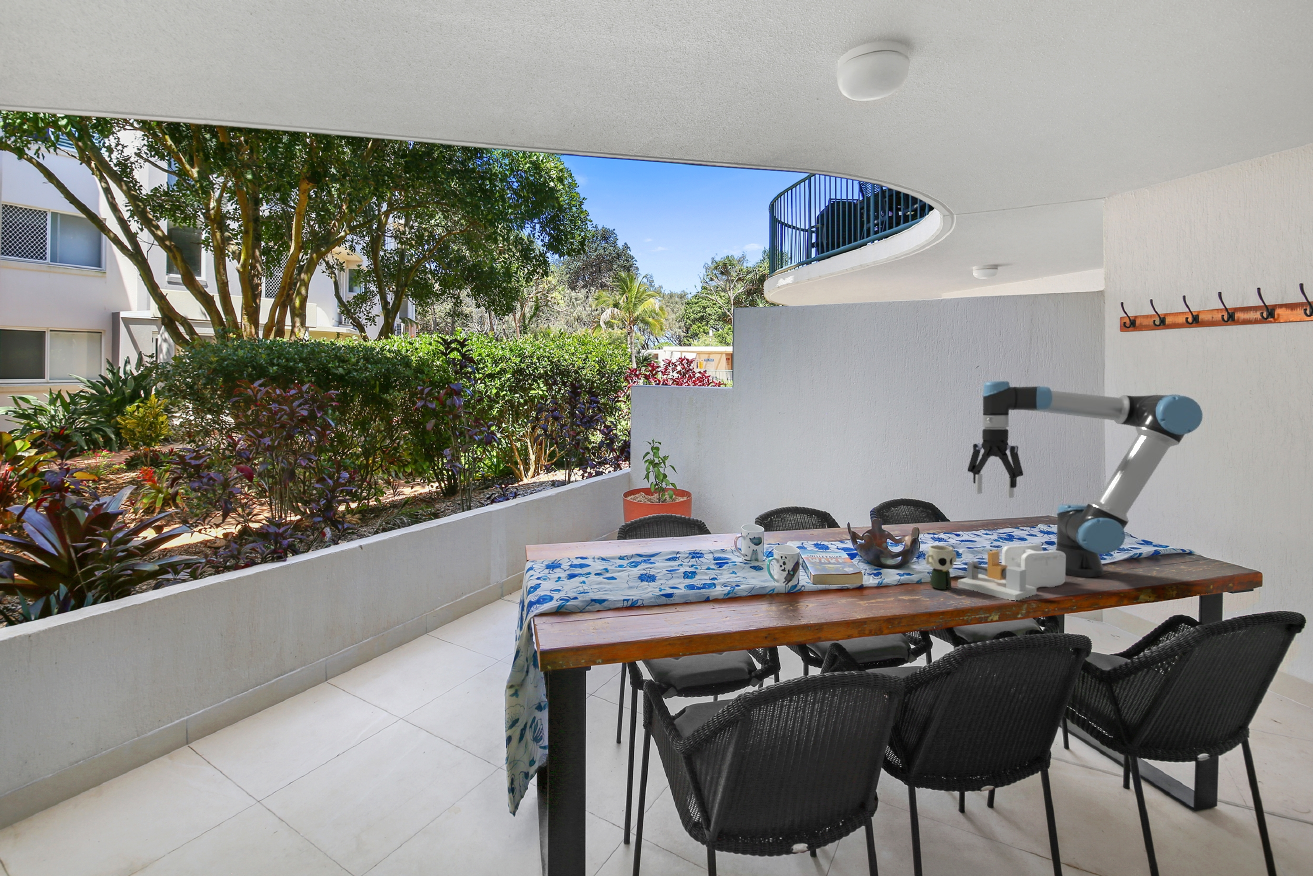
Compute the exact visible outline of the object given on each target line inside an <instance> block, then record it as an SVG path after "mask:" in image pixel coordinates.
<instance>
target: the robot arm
mask: <svg viewBox="0 0 1313 876" xmlns="http://www.w3.org/2000/svg"><path fill="white" fill-rule="evenodd" d="M982 407H983V408H982V427H983V429H982V433H981V434H982V435H981V436H982V437H981V438H982V443H972V444H973V445H972V454H971V458H970V461H969V463H968V466H967V472H968V473H971V474H972V475H973V478H972V483H973V484H974V488H975V490H974V491H975V492H974V494H975V495H981V494H982V493H983V473H982V470H983V468H984V467H985V465H986V464H987V462H988V460H989V459H990V458H991V457H995V458H999V460H1000V461H1001V462H1002V465H1003V467H1004V468H1005V471H1006V472H1007V474H1008V476H1009V477H1006V498H1007V499H1011V498H1014V497H1015V496H1014V495H1015V493H1014V492H1015V488H1016V487H1017V486H1018V485H1017V484H1018V483H1017V478H1019V477H1023V476H1024V471H1023V468H1022V464H1021V460H1020V456H1019V452H1018V451H1019V446H1018V445H1009V443H1008V441H1009V429H1008V427H1009V426H1010V425H1009V424H1010V423H1009V419H1010V413H1009V412H1010V411H1017V410H1018V411H1032V412H1033V411H1034V412H1040V413H1047V414H1049V413H1050V414H1057V415H1065V416H1075V417H1083V418H1092V419H1101V420H1109V421H1114V422H1115V423H1116V424H1118V425H1125V426H1129V427H1130V426H1131V427H1134V428H1135V431H1136V433H1137V435H1136V437H1135V439H1134V440H1133V442H1132V443H1131V445H1130V446H1129V448H1128V450H1127V451H1126V453H1125V455H1124V456H1123V458H1122V459H1121V461H1120V463H1119V464H1118V465H1117V468H1116V469H1115V471H1114V472H1113V474H1112V475H1111V476H1110V478H1109V480H1108V482H1107V483H1106V485H1105V486H1104V488H1103V490H1102V491H1101V493H1100V494H1099V496H1098V498H1097V499H1096V500H1093V501H1090V502H1088V503H1087V504H1060V505H1058V507H1057V513H1056V523H1057V524H1056V548H1055V550H1058V551H1061V552H1064V553H1065V555H1066V569H1065V576H1072V577H1073V576H1074V577H1080V578H1082V577H1083V578H1097V577H1098V576H1099V577H1102V576H1103V575H1104V565H1103V563H1102V560H1101V557H1100V555H1104V554H1111V553H1113V552H1115V551H1117V550H1118V549H1120V548H1121V547H1122V546H1123V544H1124V542H1125V539H1126V533H1125V530H1124V529H1126V527H1127V525H1128V523H1129V519H1128V516H1127V514H1128V513H1129V511H1130V509H1131V508H1132V506H1133V505H1134V503H1136V502H1135V501H1136V500H1137V498H1138V497H1139V495H1140V494H1141V492H1142V491H1143V489H1144V487H1145V486H1146V484H1147V483H1148V481H1149V480H1150V478H1151V476H1152V475H1153V473H1154V472H1155V470H1156V469H1157V467H1158V466H1159V464H1160V463H1161V461H1162V459H1163V458H1164V456H1165V455H1166V453H1167V451H1168V450H1169V448H1170V447H1174V446H1177V445H1180V443H1181V441H1182V439H1183V438H1184V436H1185V435H1187V434H1190V433H1193V432H1194V431H1196V430H1197V429H1198V428H1199V427H1200V425H1201V424H1202V422H1203V421H1202V420H1203V410H1202V408H1201V406H1200V404H1199V403H1198V402H1197V401H1196V400H1195V399H1193V398H1191V397H1189V396H1186V395H1181V394H1165V395H1164V394H1163V395H1162V394H1151V395H1134V396H1133V395H1120V396H1118V397H1115V396H1105V395H1097V394H1096V395H1095V394H1086V393H1077V392H1076V393H1075V392H1067V391H1060V390H1059V391H1058V390H1051V388H1050V387H1048V386H1040V385H1038V386H1011V385H1010V381H1008V380H1000V381H999V380H998V381H996V380H995V381H994V380H993V381H992V380H991V381H985V382H984V384H983V392H982ZM982 449H983V452H982V453H981V450H982ZM1007 450H1008V452H1009V455H1010V456H1009V455H1008V453H1007ZM980 454H981V457H980ZM1009 457H1010V459H1011V460H1010V459H1009ZM979 458H980V459H979ZM1099 577H1098V578H1099Z"/></svg>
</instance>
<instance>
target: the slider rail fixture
mask: <svg viewBox="0 0 1313 876" xmlns="http://www.w3.org/2000/svg"><path fill="white" fill-rule="evenodd" d="M966 566H967V568H966V577H964V578H961V579H958V580H957V587H959V588H962V589H967V590H970V591H973V590H974V592H977V591H978V593H982V594H985V595H989V596H994V597H997V598H999V599H1000V598H1001V599H1003V600H1004V599H1005V600H1007V599H1009V600H1008V601H1011V600H1015V601H1014V602H1017V601H1016V600H1018V601H1020V600H1019V599H1021V600H1023V599H1022V598H1024V599H1026V598H1025V597H1027V598H1029V596H1030V597H1032V595H1033V596H1036V595H1037V588H1035V587H1031V586H1027V585H1026V569H1023V568H1018V567H1014V566H1012V567H1009V568H1004V569H1003V571H1002V577H1003V578H1006V579H1003V580H996V579H992V578H988V577H987V575H984V574H981V573H979V570H980V571H984V572H987V568H988V566H984V565H983V566H982V565H979V561H976V560H972V561H971V562H970V561H967V562H966Z"/></svg>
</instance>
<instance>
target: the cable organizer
mask: <svg viewBox="0 0 1313 876" xmlns="http://www.w3.org/2000/svg"><path fill="white" fill-rule="evenodd" d="M1001 564H1002V565H1007V568H1009V567H1012V566H1014V567H1018V568H1023V569H1026V585H1027V586H1031V587H1035V588H1036V589H1039V588H1043V587H1046V588H1054V587H1055V586H1056V587H1058V586H1062V585H1063V584H1064V583H1065V582H1066V574H1065V569H1066V555H1065V553H1064V552H1061V551H1058V550H1056V549H1055V550H1044V549H1043V546H1041V545H1039V544H1036V543H1030V544H1029V543H1028V544H1016V545H1015V544H1013V545H1006V546H1005V547H1003V548H1002V551H1001Z"/></svg>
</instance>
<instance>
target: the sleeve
mask: <svg viewBox="0 0 1313 876" xmlns="http://www.w3.org/2000/svg"><path fill="white" fill-rule="evenodd" d="M987 567H988V568H987V571H986V573H987V574H986V576H987V577H988V578H992V579H996V580H1006V578H1003V577H1002V571H1003V569H1004V568H1007V565H1002V563H1000V550H992V551H991V550H990V551H988V552H987Z"/></svg>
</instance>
